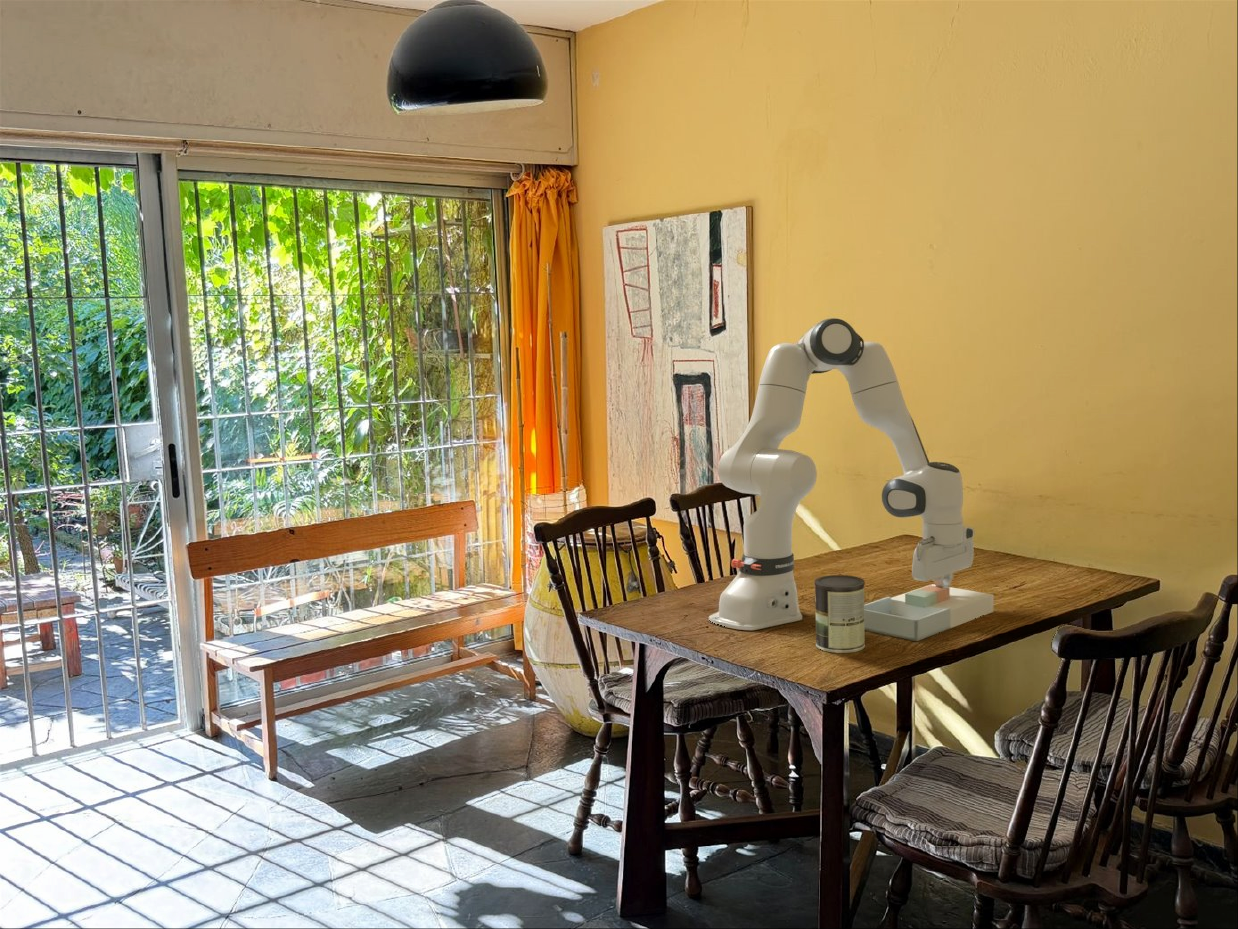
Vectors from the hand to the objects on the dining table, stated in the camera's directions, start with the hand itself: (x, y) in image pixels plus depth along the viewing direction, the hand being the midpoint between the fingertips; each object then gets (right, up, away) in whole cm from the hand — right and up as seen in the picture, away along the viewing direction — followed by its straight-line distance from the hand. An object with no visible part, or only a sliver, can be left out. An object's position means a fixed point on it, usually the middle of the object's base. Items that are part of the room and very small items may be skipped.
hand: (942, 593), depth 260 cm
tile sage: (-7, -2, -6) cm, 9 cm away
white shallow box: (0, -5, 0) cm, 5 cm away
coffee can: (-28, -9, -22) cm, 36 cm away
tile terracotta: (-3, -1, -3) cm, 4 cm away
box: (-12, -7, -10) cm, 17 cm away
